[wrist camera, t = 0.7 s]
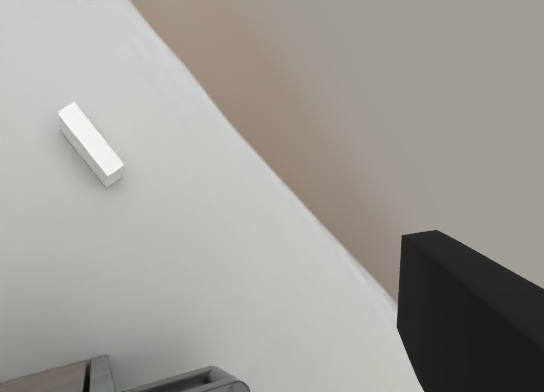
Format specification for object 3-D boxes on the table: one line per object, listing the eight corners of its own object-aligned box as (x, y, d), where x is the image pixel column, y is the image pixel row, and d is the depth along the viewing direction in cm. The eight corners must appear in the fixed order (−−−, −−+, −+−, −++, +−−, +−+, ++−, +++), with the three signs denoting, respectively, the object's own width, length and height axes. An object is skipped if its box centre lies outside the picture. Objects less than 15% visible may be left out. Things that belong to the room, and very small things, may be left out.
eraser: (106, 188, 34) (107, 176, 31) (60, 130, 34) (56, 112, 31) (122, 177, 35) (125, 164, 31) (76, 120, 35) (74, 101, 31)
